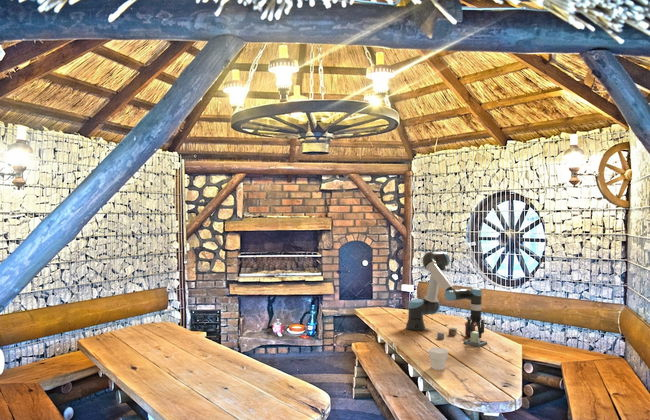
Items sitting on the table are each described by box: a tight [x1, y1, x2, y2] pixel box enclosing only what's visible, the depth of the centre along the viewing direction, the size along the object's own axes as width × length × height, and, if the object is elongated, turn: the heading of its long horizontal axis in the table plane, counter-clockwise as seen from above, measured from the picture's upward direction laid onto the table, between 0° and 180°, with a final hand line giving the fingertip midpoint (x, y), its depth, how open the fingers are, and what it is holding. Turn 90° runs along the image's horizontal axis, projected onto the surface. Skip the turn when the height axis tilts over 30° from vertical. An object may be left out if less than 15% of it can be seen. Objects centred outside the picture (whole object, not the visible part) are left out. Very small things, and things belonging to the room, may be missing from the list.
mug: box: [464, 321, 478, 338], centre depth 397 cm, size 12×9×10 cm
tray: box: [463, 338, 488, 348], centre depth 377 cm, size 12×12×2 cm
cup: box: [428, 346, 449, 371], centre depth 322 cm, size 12×12×11 cm
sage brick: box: [469, 330, 479, 343], centre depth 377 cm, size 5×5×7 cm
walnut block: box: [448, 327, 458, 337], centre depth 401 cm, size 5×5×5 cm
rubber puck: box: [436, 331, 445, 340], centre depth 390 cm, size 5×5×4 cm
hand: (475, 341), depth 377 cm, fingers closed on sage brick, 5 cm apart
